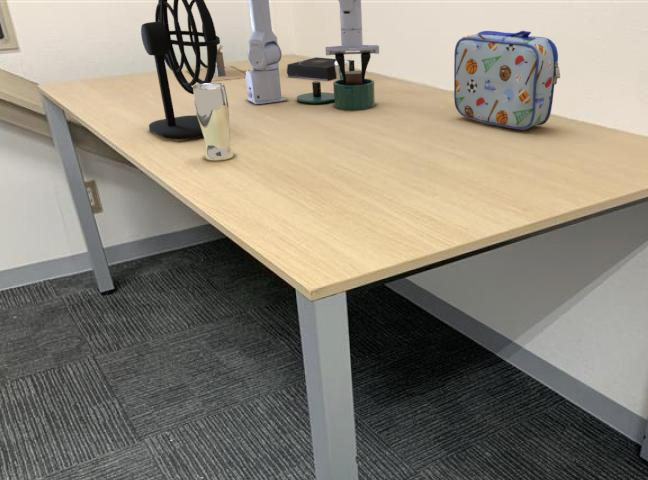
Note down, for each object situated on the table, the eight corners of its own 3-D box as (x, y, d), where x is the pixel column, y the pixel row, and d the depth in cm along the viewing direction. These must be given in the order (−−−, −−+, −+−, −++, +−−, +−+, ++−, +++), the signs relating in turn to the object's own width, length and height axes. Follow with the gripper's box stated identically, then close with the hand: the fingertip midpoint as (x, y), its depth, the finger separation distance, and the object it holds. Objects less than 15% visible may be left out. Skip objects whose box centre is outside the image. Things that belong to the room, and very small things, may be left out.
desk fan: (246, 135, 163) (226, -28, 145) (177, 148, 155) (146, -24, 136) (202, 115, 182) (179, -31, 164) (138, 126, 173) (106, -28, 155)
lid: (291, 104, 192) (289, 85, 190) (304, 95, 202) (302, 77, 200) (331, 105, 190) (330, 86, 188) (342, 96, 200) (341, 78, 198)
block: (346, 89, 185) (345, 74, 183) (346, 86, 188) (345, 71, 186) (362, 88, 185) (361, 73, 183) (361, 85, 189) (361, 70, 187)
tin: (327, 111, 183) (326, 87, 180) (342, 99, 197) (341, 76, 194) (367, 112, 181) (366, 88, 178) (380, 99, 195) (379, 76, 192)
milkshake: (352, 92, 205) (350, 57, 200) (335, 92, 206) (333, 57, 201) (353, 89, 209) (352, 54, 204) (337, 89, 210) (335, 55, 205)
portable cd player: (315, 69, 242) (314, 57, 240) (354, 72, 234) (354, 60, 232) (287, 76, 230) (286, 64, 228) (327, 80, 222) (326, 67, 220)
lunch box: (560, 128, 163) (572, 29, 151) (536, 137, 157) (545, 34, 145) (472, 111, 180) (476, 22, 168) (447, 118, 174) (449, 26, 162)
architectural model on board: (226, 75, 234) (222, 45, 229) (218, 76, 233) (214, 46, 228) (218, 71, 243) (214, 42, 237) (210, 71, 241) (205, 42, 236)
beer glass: (221, 150, 152) (211, 81, 144) (241, 155, 148) (232, 84, 140) (196, 157, 147) (184, 86, 140) (216, 163, 143) (205, 90, 136)
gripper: (324, 31, 175) (327, 85, 182) (379, 29, 176) (380, 83, 183) (324, 28, 181) (327, 81, 188) (377, 26, 182) (378, 79, 189)
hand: (353, 82), depth 186 cm, fingers closed on block, 4 cm apart
